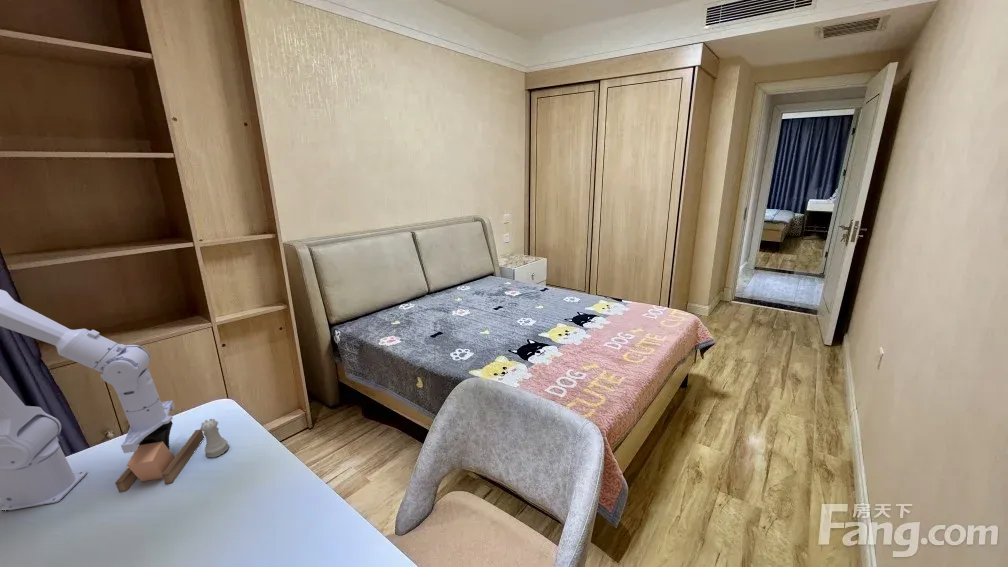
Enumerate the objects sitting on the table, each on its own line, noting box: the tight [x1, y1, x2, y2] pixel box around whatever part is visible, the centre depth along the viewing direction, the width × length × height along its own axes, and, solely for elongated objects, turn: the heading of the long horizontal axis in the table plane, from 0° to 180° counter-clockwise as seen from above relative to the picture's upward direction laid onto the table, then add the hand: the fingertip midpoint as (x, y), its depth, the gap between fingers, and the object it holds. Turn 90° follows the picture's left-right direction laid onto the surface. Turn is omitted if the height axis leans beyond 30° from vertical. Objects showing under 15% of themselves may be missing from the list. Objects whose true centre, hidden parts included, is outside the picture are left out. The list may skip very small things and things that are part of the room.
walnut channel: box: [114, 429, 205, 493], centre depth 88 cm, size 9×14×2 cm
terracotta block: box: [126, 442, 176, 482], centre depth 84 cm, size 4×4×6 cm
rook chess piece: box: [199, 418, 230, 459], centre depth 90 cm, size 4×4×8 cm
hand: (162, 456), depth 88 cm, fingers closed
